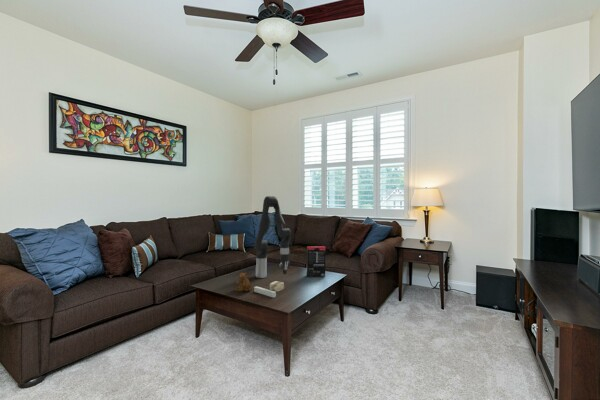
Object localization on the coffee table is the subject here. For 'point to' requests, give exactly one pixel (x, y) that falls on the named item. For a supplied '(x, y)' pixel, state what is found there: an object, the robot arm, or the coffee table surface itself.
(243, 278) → the stuffed squirrel
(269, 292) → the board
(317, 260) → the graphics card box
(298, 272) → the coffee table surface
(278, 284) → the maple block
